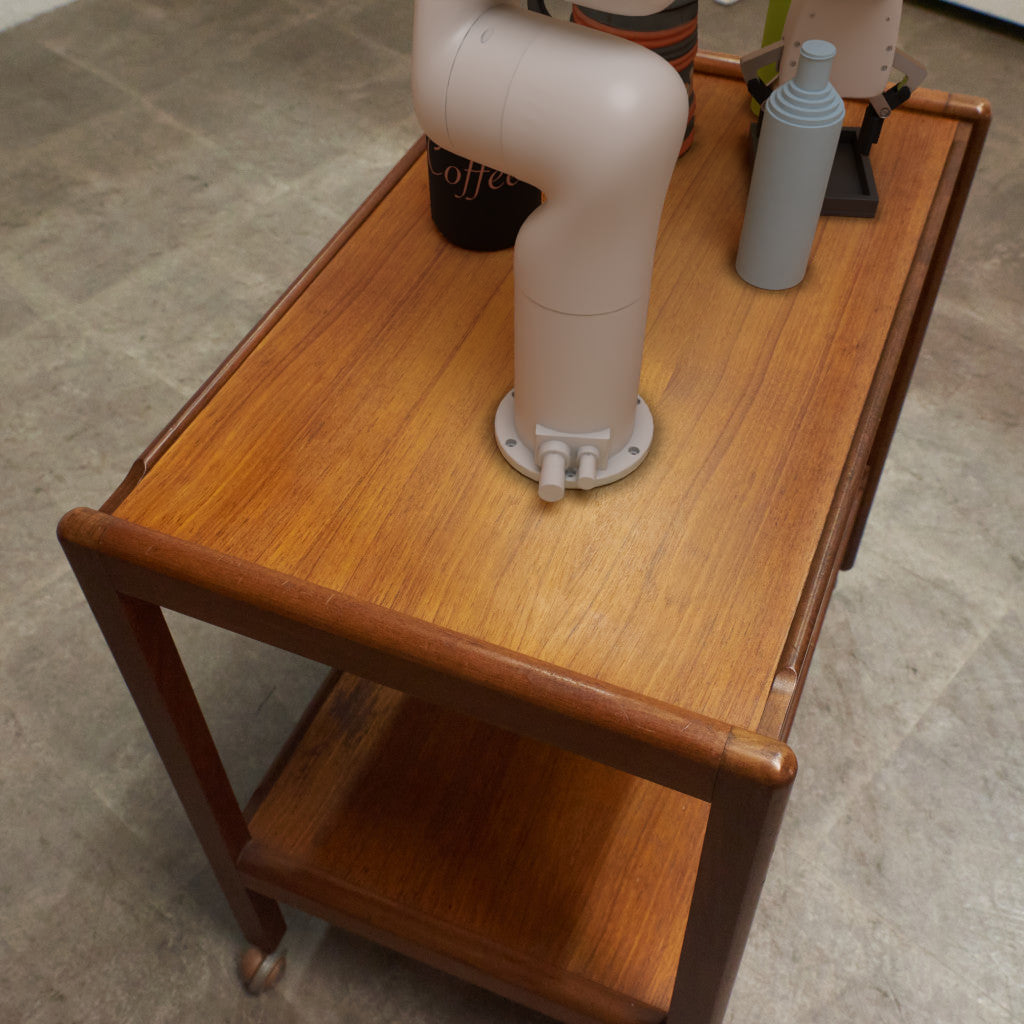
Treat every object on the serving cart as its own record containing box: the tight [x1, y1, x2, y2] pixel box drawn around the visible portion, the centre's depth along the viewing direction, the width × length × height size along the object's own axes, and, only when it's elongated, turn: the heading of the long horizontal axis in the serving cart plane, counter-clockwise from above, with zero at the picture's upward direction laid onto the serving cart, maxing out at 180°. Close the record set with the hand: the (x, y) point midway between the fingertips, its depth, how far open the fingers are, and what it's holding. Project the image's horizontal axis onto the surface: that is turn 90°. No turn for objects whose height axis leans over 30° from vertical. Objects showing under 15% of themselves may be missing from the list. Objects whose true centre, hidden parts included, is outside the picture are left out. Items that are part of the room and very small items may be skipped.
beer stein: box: [526, 0, 699, 160], centre depth 107 cm, size 19×15×20 cm
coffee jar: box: [425, 134, 543, 253], centre depth 97 cm, size 11×11×18 cm
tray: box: [747, 121, 880, 219], centre depth 108 cm, size 14×12×2 cm
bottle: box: [734, 40, 846, 291], centre depth 91 cm, size 6×6×21 cm
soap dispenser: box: [750, 0, 792, 117], centre depth 111 cm, size 6×7×20 cm
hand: (813, 146), depth 106 cm, fingers open, 9 cm apart
